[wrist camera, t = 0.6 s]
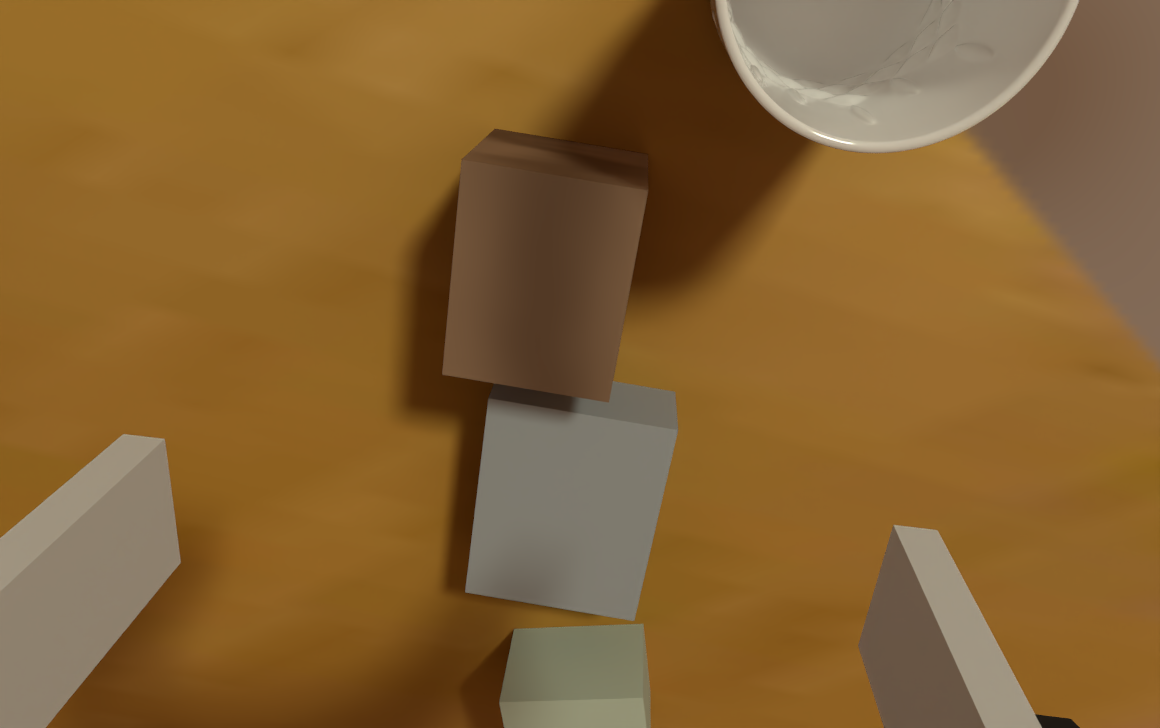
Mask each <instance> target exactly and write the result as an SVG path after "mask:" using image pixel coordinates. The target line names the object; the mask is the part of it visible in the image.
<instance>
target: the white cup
mask: <svg viewBox="0 0 1160 728" xmlns="http://www.w3.org/2000/svg"><path fill="white" fill-rule="evenodd" d="M1078 2H1079V0H710V5H711V10H712V16H713V20H714V23H715V26H716V29H717V32H718V35H719V37H720V40H721V42H722V44H723V46H724V48H725V50H726V52H727V54H728V56H729V58H730V60H731V61H732V63H733V65H734V67H735V69H736V71H737V73H738V75H739V76H740V78H741V80H742V81H743V83H744V84H745V86H746V87H747V89H748V90H749V91H750V93H751V94H752V95H753V96H754V98H755V99H756V100H757V101H758V102H759V103H760V104H761V105H762V106H763V107H764V108H765V109H766V110H767V111H768V112H769V113H770V114H771V115H772V116H773V117H774V118H776V119H777V120H778V121H779V122H781V123H782V124H783V125H785V126H786V127H788V128H789V129H791V130H793V131H794V132H796V133H798V134H800V135H802V136H803V137H806V138H808V139H810V140H812V141H815V142H817V143H820V144H823V145H826V146H829V147H832V148H836V149H841V150H846V151H852V152H860V153H891V152H900V151H906V150H912V149H916V148H920V147H924V146H928V145H931V144H934V143H937V142H940V141H943V140H945V139H948V138H950V137H952V136H955V135H957V134H959V133H961V132H963V131H965V130H967V129H969V128H970V127H972V126H974V125H976V124H977V123H979V122H981V121H982V120H984V119H985V118H987V117H988V116H990V115H991V114H993V113H994V112H995V111H996V110H998V109H999V108H1001V107H1002V106H1003V105H1004V104H1006V103H1007V102H1008V101H1009V100H1010V99H1011V98H1013V97H1014V96H1015V95H1016V94H1017V93H1018V92H1019V91H1020V90H1021V89H1022V88H1023V87H1024V86H1025V85H1026V84H1027V83H1028V82H1029V81H1030V80H1031V78H1032V77H1033V76H1034V75H1035V74H1036V73H1037V72H1038V70H1039V69H1040V68H1041V67H1042V65H1043V64H1044V63H1045V61H1046V60H1047V59H1048V57H1049V56H1050V55H1051V53H1052V52H1053V50H1054V49H1055V47H1056V46H1057V44H1058V42H1059V41H1060V39H1061V37H1062V36H1063V34H1064V32H1065V30H1066V28H1067V27H1068V25H1069V23H1070V20H1071V19H1072V16H1073V14H1074V12H1075V10H1076V7H1077V5H1078Z"/></svg>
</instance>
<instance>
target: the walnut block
mask: <svg viewBox="0 0 1160 728" xmlns="http://www.w3.org/2000/svg"><path fill="white" fill-rule="evenodd" d="M647 195H648V154H644V153H638V152H632V151H626V150H620V149H614V148H608V147H602V146H596V145H590V144H584V143H578V142H572V141H566V140H560V139H554V138H548V137H542V136H536V135H530V134H524V133H518V132H512V131H506V130H500V129H494V130H493V131H492V132H491V133H490V134H489V135H488V136H487V137H486V138H485V139H483V140H482V141H481V142H480V143H479V144H478V145H477V146H476V147H475V148H474V149H473V150H472V151H470V152H469V153H468V154H467V155H466V156H465V157H464V158H463V159H462V162H461V173H460V184H459V195H458V206H457V217H456V228H455V239H454V250H453V261H452V272H451V282H450V293H449V304H448V315H447V326H446V337H445V348H444V359H443V370H442V375H447V376H453V377H459V378H465V379H471V380H477V381H483V382H489V383H495V384H501V385H507V386H513V387H519V388H525V389H531V390H536V391H542V392H548V393H554V394H560V395H566V396H572V397H578V398H584V399H590V400H596V401H602V402H608V403H609V400H610V394H611V389H612V383H613V378H614V373H615V367H616V362H617V357H618V351H619V346H620V340H621V335H622V330H623V324H624V319H625V313H626V308H627V303H628V297H629V292H630V287H631V281H632V276H633V270H634V265H635V260H636V254H637V249H638V243H639V238H640V233H641V227H642V222H643V217H644V211H645V206H646V200H647Z"/></svg>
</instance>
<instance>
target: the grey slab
mask: <svg viewBox="0 0 1160 728" xmlns="http://www.w3.org/2000/svg"><path fill="white" fill-rule="evenodd" d="M677 432H678V424H677V410H676V397H675V392H673V391H667V390H661V389H655V388H649V387H643V386H637V385H631V384H625V383H619V382H614V381H613V383H612V389H611V394H610V400H609V403H608V402H602V401H596V400H590V399H584V398H578V397H572V396H566V395H560V394H554V393H548V392H542V391H536V390H531V389H525V388H519V387H513V386H507V385H501V384H495V383H494V385H493V387H492V390H491V393H490V395H489V398H488V406H487V414H486V423H485V431H484V439H483V447H482V456H481V464H480V472H479V481H478V489H477V497H476V506H475V514H474V522H473V531H472V539H471V547H470V555H469V564H468V572H467V580H466V589H465V592H466V593H472V594H478V595H484V596H489V597H495V598H501V599H507V600H513V601H519V602H525V603H531V604H537V605H543V606H549V607H555V608H561V609H566V610H572V611H578V612H584V613H590V614H596V615H602V616H608V617H614V618H620V619H626V620H632V621H634V619H635V615H636V611H637V606H638V602H639V598H640V593H641V589H642V584H643V580H644V576H645V571H646V567H647V563H648V558H649V554H650V550H651V545H652V541H653V537H654V532H655V528H656V524H657V519H658V515H659V511H660V506H661V502H662V498H663V493H664V489H665V485H666V480H667V476H668V472H669V467H670V463H671V458H672V454H673V450H674V445H675V441H676V437H677Z"/></svg>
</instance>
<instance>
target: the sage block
mask: <svg viewBox="0 0 1160 728" xmlns="http://www.w3.org/2000/svg"><path fill="white" fill-rule="evenodd" d="M499 704H500V709H501V714H502V719H503V724H504V728H650V684H649V674H648V665H647V655H646V645H645V635H644V626H643V624H629V625H603V626H578V627H552V628H527V629H514V632H513V636H512V641H511V646H510V651H509V656H508V661H507V666H506V671H505V676H504V681H503V686H502V691H501V696H500V700H499Z"/></svg>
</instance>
